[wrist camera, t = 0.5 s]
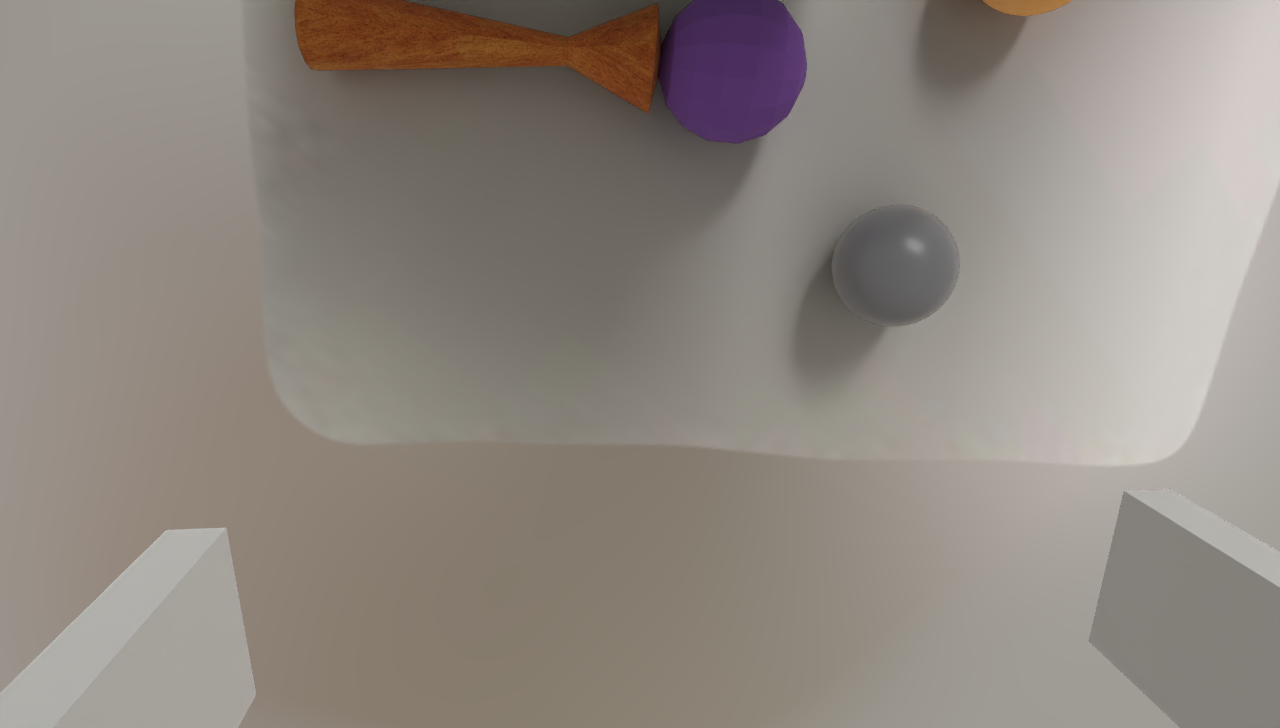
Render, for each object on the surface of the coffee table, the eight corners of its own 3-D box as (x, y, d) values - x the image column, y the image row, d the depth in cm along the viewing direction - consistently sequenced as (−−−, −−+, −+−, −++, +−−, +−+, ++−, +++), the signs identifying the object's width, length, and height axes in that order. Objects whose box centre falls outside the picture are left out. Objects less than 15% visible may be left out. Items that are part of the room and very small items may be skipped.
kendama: (280, -91, 26) (832, -32, 26) (343, -22, 31) (792, 25, 32) (276, 82, 26) (814, 134, 27) (338, 118, 32) (778, 160, 33)
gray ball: (870, 175, 34) (924, 183, 29) (945, 247, 36) (1010, 267, 30) (792, 265, 35) (831, 289, 30) (869, 331, 37) (919, 365, 31)
